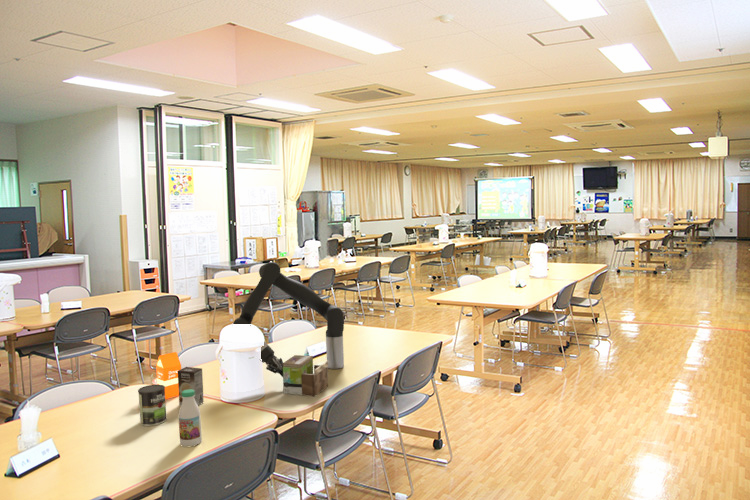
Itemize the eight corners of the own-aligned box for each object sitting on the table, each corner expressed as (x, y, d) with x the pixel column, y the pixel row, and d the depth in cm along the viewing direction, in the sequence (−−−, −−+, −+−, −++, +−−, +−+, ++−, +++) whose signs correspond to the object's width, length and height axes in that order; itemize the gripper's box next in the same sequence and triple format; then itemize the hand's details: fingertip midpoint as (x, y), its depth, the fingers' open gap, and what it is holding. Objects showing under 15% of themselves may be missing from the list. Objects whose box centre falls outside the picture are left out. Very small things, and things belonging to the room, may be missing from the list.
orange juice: (183, 394, 258) (180, 353, 256) (165, 399, 252) (162, 357, 250) (175, 390, 263) (172, 350, 262) (157, 395, 257) (154, 354, 255)
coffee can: (172, 419, 227) (170, 386, 226) (150, 428, 218) (148, 394, 217) (156, 414, 232) (154, 382, 231) (134, 423, 224) (132, 390, 223)
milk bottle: (183, 439, 207) (180, 388, 205) (204, 438, 207) (201, 386, 206) (177, 448, 199) (174, 395, 197) (199, 446, 200) (196, 393, 198)
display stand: (315, 384, 266) (314, 360, 265) (329, 385, 264) (328, 360, 263) (302, 395, 252) (301, 369, 251) (316, 396, 250) (315, 370, 249)
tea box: (303, 395, 252) (301, 363, 251) (282, 393, 255) (281, 363, 253) (314, 384, 267) (313, 355, 266) (295, 383, 269) (293, 354, 268)
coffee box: (178, 405, 243) (176, 370, 242) (187, 400, 249) (185, 366, 248) (195, 407, 240) (193, 372, 239) (204, 402, 246) (202, 367, 245)
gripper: (260, 349, 258) (284, 376, 255) (273, 342, 270) (297, 368, 267) (250, 359, 260) (274, 386, 257) (264, 352, 272) (287, 377, 269)
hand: (286, 376), depth 262 cm, fingers closed
